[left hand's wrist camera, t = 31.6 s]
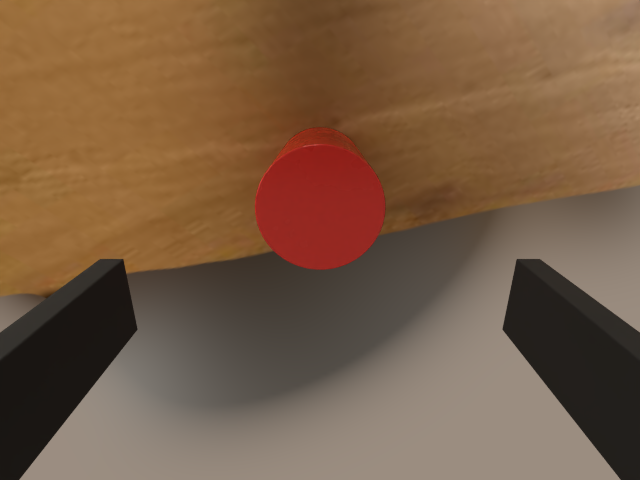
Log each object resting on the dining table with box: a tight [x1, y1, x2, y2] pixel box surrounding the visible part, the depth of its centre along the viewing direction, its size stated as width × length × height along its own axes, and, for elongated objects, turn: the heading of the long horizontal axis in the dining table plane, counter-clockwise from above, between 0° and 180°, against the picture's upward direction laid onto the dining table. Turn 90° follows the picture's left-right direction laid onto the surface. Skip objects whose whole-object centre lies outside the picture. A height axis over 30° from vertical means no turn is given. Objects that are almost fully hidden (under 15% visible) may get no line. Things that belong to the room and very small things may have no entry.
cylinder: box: [255, 127, 385, 270], centre depth 28 cm, size 8×8×13 cm
